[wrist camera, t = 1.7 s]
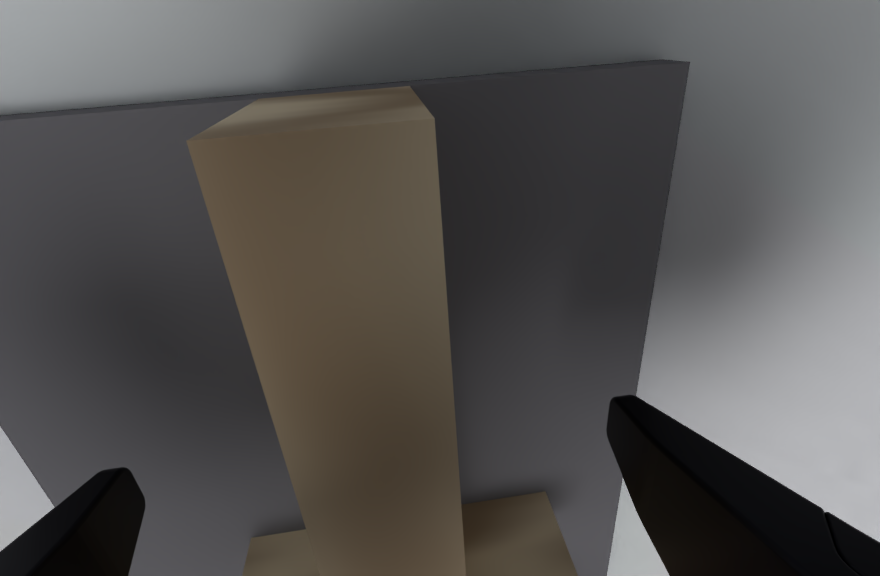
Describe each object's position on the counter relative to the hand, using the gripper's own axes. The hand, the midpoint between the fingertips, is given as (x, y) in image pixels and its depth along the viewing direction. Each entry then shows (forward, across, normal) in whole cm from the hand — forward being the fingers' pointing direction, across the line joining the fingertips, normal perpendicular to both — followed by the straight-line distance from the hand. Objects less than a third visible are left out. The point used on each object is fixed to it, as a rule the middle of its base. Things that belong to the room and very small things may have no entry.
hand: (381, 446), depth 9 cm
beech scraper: (+3, 0, 0) cm, 3 cm away
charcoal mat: (+4, +1, +8) cm, 9 cm away
